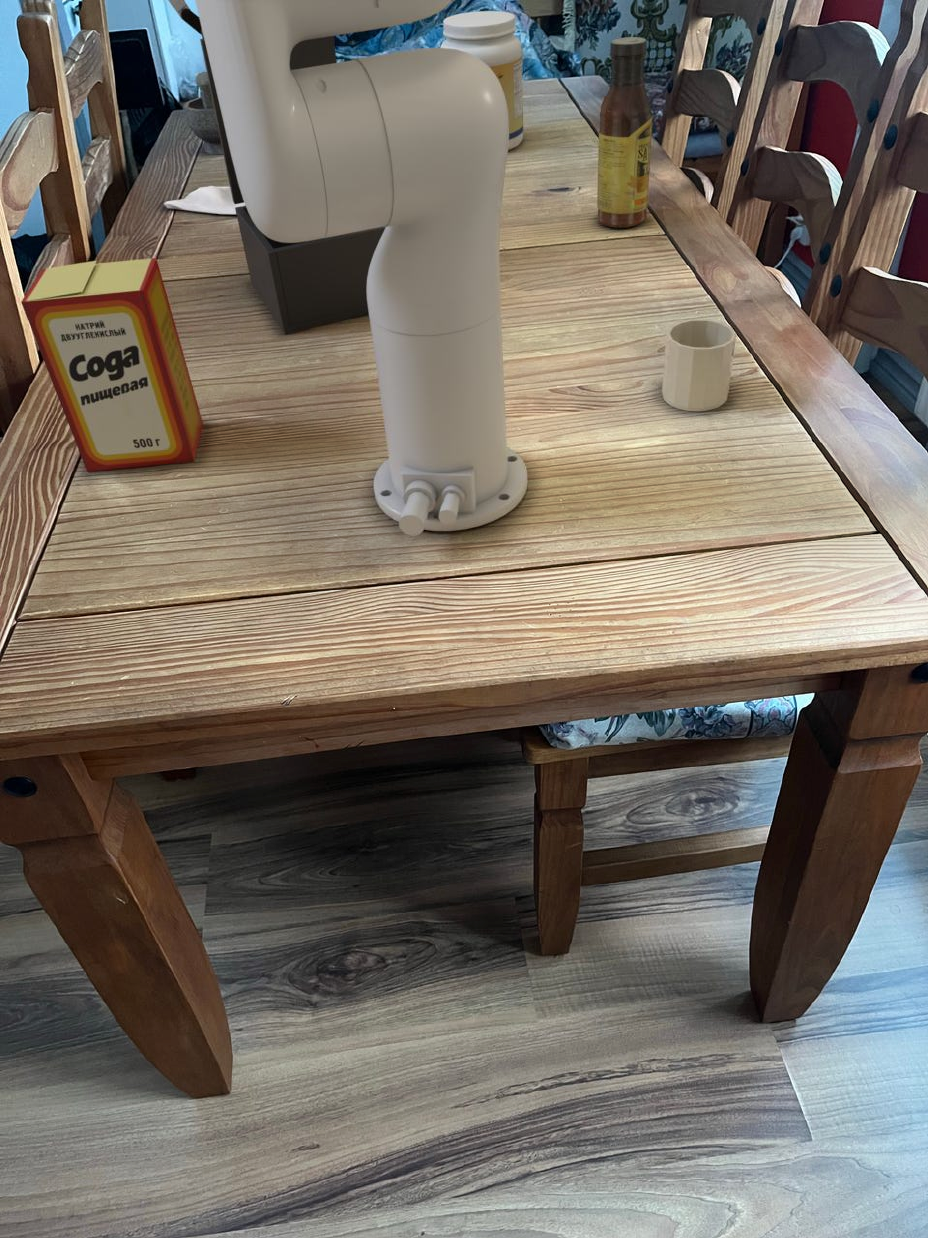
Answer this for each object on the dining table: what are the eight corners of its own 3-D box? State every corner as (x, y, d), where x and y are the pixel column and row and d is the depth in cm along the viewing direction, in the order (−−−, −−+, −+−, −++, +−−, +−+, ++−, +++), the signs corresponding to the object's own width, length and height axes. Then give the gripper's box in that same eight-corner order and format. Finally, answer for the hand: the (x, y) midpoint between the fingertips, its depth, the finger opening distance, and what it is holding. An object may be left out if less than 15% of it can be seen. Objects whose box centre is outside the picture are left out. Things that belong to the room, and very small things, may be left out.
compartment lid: (332, 20, 99) (317, 7, 102) (201, 41, 96) (191, 26, 99) (349, 181, 111) (336, 164, 114) (234, 204, 108) (224, 186, 111)
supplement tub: (435, 156, 146) (424, 27, 135) (458, 132, 155) (450, 8, 143) (513, 157, 143) (509, 26, 132) (532, 133, 151) (530, 7, 140)
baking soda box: (203, 423, 90) (155, 253, 79) (194, 460, 85) (141, 285, 74) (101, 433, 90) (40, 264, 79) (87, 471, 85) (19, 297, 74)
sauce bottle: (645, 230, 118) (655, 46, 105) (594, 230, 119) (598, 47, 106) (648, 211, 123) (658, 32, 110) (599, 211, 124) (603, 34, 111)
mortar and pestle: (197, 142, 160) (178, 61, 152) (254, 136, 161) (238, 55, 153) (191, 162, 152) (171, 78, 144) (251, 156, 152) (234, 71, 144)
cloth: (152, 223, 132) (147, 206, 130) (174, 189, 142) (169, 173, 141) (340, 210, 131) (338, 192, 130) (348, 177, 141) (346, 160, 140)
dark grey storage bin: (403, 306, 107) (394, 225, 101) (284, 334, 103) (268, 252, 97) (359, 259, 118) (349, 183, 112) (251, 283, 114) (234, 207, 108)
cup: (729, 412, 85) (738, 349, 81) (661, 410, 86) (666, 348, 82) (726, 380, 89) (734, 318, 85) (661, 379, 90) (666, 318, 86)
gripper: (144, -118, 87) (193, 91, 99) (326, -139, 92) (353, 64, 103) (133, -122, 93) (180, 77, 104) (305, -141, 97) (332, 52, 108)
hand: (266, 70), depth 103 cm, fingers open, 9 cm apart
